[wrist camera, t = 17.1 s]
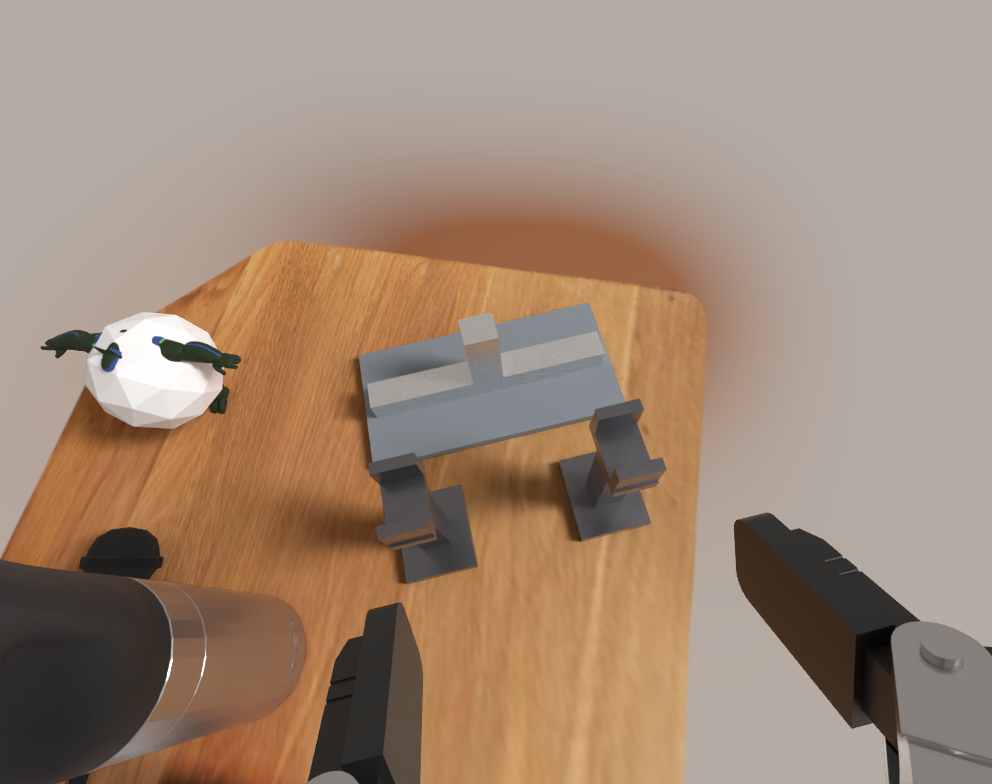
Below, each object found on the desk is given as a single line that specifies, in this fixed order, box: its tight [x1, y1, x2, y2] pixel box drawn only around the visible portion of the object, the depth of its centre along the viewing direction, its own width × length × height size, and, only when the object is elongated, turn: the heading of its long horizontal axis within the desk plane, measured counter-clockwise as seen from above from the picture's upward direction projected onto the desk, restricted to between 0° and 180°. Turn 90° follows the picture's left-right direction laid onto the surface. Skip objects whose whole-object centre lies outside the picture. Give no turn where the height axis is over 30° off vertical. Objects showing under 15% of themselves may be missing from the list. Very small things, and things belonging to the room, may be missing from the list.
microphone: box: [69, 527, 164, 784], centre depth 41 cm, size 6×6×20 cm
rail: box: [367, 312, 605, 418], centre depth 46 cm, size 22×2×10 cm, turn 103°
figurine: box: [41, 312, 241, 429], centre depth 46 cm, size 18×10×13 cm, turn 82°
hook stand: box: [368, 399, 667, 584], centre depth 39 cm, size 21×7×14 cm, turn 103°
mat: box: [359, 303, 625, 462], centre depth 50 cm, size 24×12×1 cm, turn 103°
